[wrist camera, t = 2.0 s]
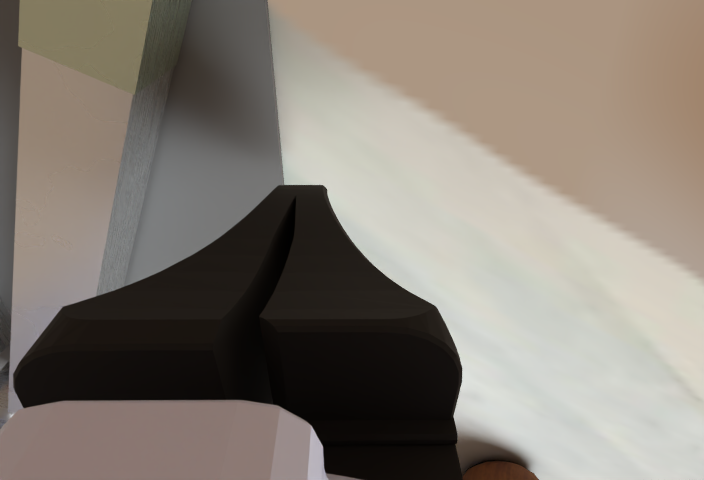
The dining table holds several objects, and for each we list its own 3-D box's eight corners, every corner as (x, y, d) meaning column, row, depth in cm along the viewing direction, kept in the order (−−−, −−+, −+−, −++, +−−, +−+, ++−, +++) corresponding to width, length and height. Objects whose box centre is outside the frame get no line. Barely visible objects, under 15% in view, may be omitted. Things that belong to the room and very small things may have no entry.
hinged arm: (100, 392, 21) (67, 453, 19) (13, 371, 20) (-35, 432, 18) (212, -89, 11) (171, -99, 8) (39, -185, 10) (-71, -231, 7)
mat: (-68, 409, 23) (-74, 416, 23) (-892, -488, 8) (-948, -507, 7) (304, 406, 23) (303, 413, 23) (225, -457, 8) (220, -474, 8)
